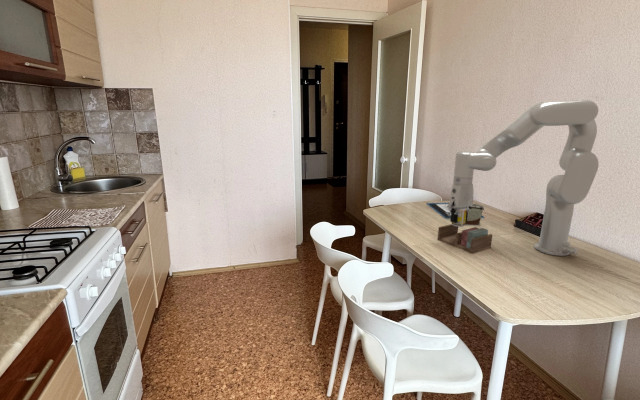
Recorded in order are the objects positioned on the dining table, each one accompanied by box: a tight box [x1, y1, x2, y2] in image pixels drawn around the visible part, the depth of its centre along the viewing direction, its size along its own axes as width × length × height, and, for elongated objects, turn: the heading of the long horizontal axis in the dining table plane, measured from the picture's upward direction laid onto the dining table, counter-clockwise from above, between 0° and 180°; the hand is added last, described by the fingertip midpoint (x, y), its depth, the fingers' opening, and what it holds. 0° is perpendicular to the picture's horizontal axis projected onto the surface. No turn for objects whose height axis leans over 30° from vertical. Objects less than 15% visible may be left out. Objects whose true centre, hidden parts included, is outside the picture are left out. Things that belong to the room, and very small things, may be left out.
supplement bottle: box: [451, 207, 467, 228], centre depth 152 cm, size 6×6×10 cm
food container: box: [465, 203, 485, 226], centre depth 179 cm, size 12×6×10 cm, turn 84°
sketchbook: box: [425, 201, 485, 220], centre depth 202 cm, size 22×30×2 cm
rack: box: [437, 223, 493, 255], centre depth 151 cm, size 18×12×8 cm, turn 30°
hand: (458, 220), depth 153 cm, fingers closed on supplement bottle, 5 cm apart
